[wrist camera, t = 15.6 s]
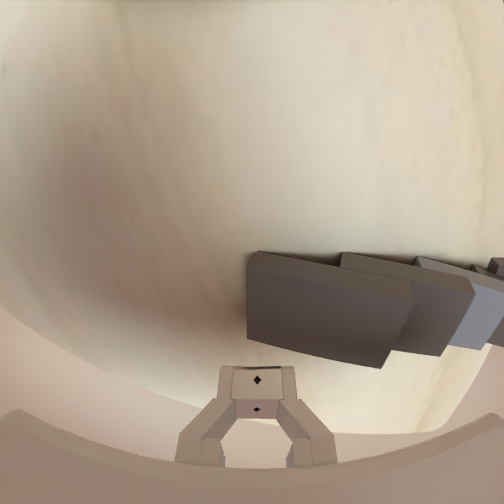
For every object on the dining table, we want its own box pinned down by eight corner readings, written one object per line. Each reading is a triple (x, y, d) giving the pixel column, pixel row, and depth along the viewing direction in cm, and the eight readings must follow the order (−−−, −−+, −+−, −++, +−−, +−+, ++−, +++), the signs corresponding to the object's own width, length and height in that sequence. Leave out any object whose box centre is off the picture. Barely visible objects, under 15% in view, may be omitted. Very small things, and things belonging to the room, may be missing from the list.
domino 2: (323, 336, 15) (439, 356, 13) (340, 266, 13) (475, 293, 10) (327, 319, 17) (436, 338, 14) (342, 251, 14) (468, 277, 12)
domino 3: (391, 333, 15) (480, 350, 13) (422, 269, 13) (515, 296, 11) (391, 317, 17) (475, 335, 15) (417, 255, 14) (507, 282, 12)
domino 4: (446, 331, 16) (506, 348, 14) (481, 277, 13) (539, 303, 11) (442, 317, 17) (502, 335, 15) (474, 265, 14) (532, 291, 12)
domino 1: (247, 338, 15) (380, 369, 13) (246, 266, 13) (414, 301, 10) (256, 320, 17) (381, 348, 14) (258, 251, 14) (410, 281, 12)
